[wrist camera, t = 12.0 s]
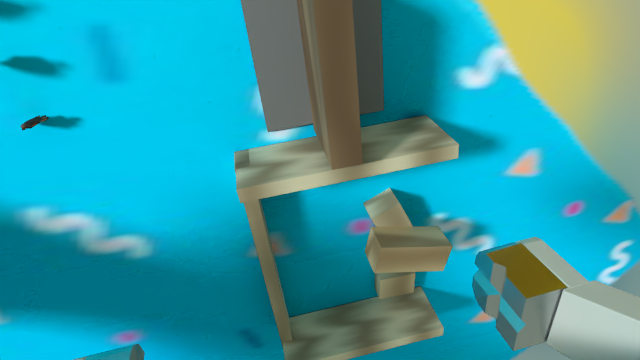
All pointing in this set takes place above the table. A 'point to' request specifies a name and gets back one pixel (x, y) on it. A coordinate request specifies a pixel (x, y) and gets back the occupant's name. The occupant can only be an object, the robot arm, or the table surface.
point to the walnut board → (332, 78)
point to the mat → (289, 64)
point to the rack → (314, 171)
